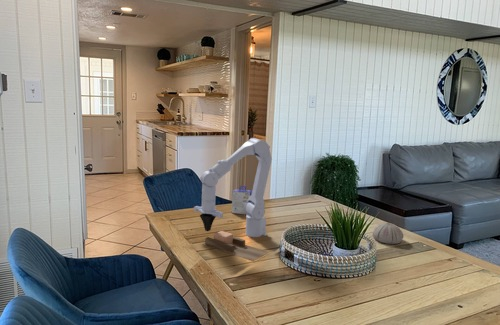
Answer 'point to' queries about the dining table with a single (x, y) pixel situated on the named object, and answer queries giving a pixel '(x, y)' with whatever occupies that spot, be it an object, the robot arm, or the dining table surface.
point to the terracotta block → (224, 237)
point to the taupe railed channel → (236, 248)
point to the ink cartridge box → (240, 200)
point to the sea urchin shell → (388, 233)
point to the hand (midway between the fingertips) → (207, 230)
